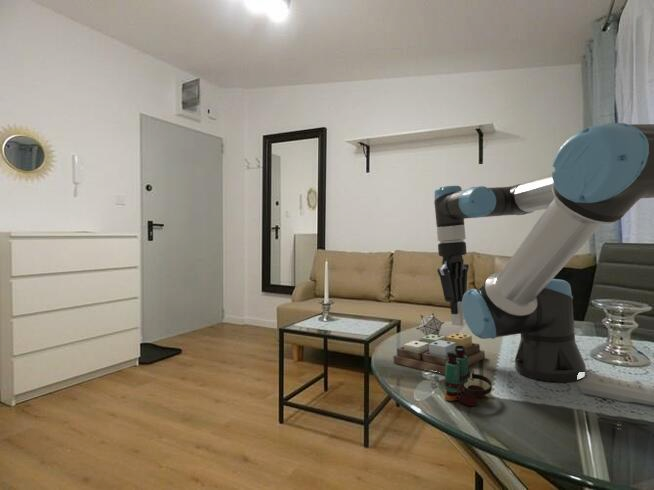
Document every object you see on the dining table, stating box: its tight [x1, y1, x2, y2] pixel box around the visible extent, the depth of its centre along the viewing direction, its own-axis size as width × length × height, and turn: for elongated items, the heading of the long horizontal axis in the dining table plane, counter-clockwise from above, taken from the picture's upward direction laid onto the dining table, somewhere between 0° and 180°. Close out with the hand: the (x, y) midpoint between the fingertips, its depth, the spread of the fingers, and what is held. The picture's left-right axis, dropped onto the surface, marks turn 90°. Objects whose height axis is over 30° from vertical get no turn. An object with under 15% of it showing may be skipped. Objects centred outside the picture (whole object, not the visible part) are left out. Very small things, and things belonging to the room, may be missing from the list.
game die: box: [416, 313, 445, 336], centre depth 134 cm, size 9×8×10 cm
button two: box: [429, 340, 456, 358], centre depth 103 cm, size 5×5×3 cm
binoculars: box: [443, 345, 493, 407], centre depth 83 cm, size 9×11×10 cm
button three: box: [420, 334, 446, 344], centre depth 115 cm, size 5×5×3 cm
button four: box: [445, 333, 473, 349], centre depth 108 cm, size 5×5×3 cm
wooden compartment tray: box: [392, 338, 486, 376], centre depth 109 cm, size 18×18×4 cm
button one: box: [403, 340, 429, 352], centre depth 109 cm, size 5×5×3 cm
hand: (457, 324), depth 108 cm, fingers closed
